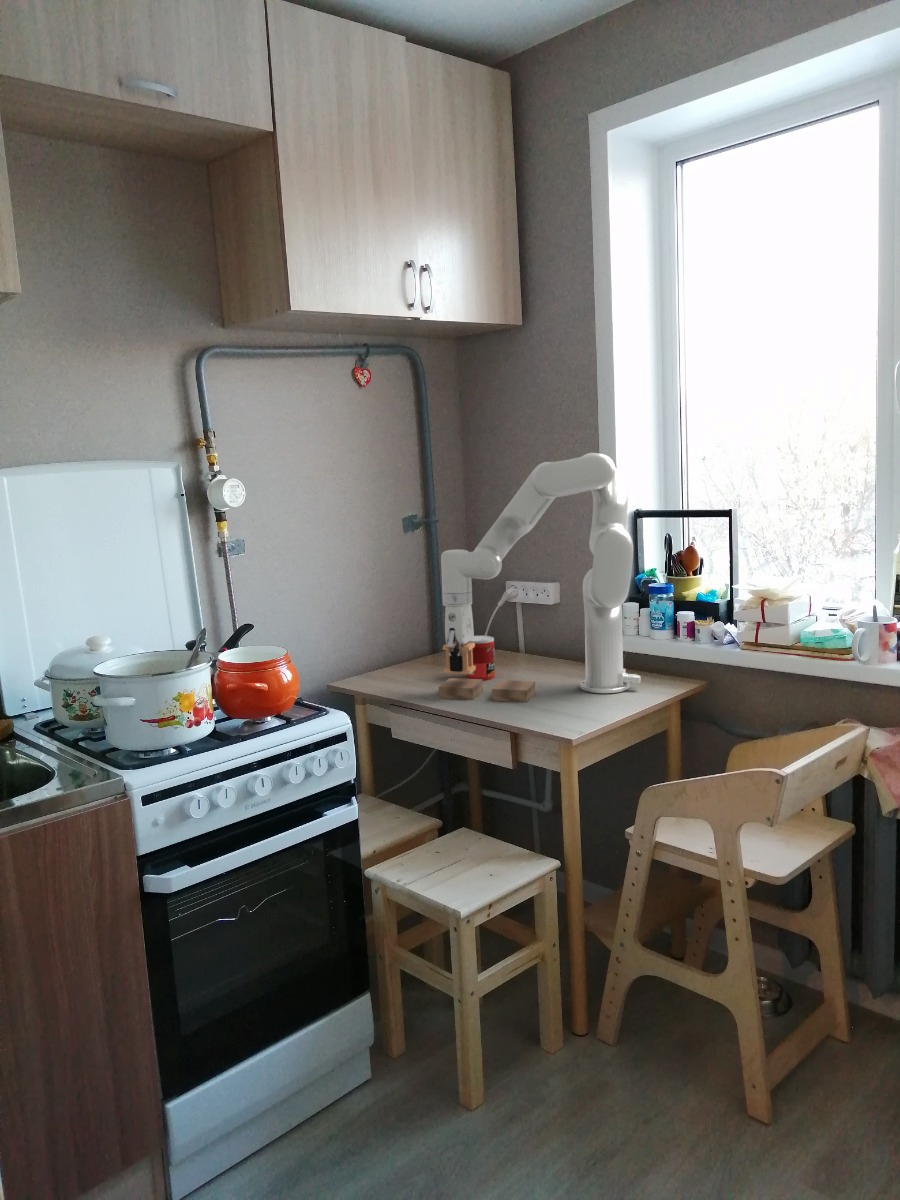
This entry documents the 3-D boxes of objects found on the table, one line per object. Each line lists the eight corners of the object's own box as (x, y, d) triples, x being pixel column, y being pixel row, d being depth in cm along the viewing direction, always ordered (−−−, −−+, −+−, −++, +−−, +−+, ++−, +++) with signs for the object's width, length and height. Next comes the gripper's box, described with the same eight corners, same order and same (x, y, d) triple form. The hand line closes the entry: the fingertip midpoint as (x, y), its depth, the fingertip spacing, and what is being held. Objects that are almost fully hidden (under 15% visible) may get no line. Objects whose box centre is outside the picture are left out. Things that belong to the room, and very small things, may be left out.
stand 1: (483, 690, 247) (482, 679, 247) (473, 699, 239) (472, 688, 238) (450, 689, 250) (449, 678, 250) (439, 698, 242) (438, 686, 241)
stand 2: (535, 692, 243) (535, 681, 242) (527, 702, 235) (526, 690, 234) (501, 691, 246) (501, 680, 245) (492, 700, 237) (491, 688, 237)
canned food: (493, 681, 257) (491, 641, 255) (464, 680, 258) (462, 641, 257) (497, 674, 264) (496, 635, 262) (469, 673, 266) (467, 635, 264)
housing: (475, 669, 245) (474, 642, 244) (469, 674, 240) (469, 646, 239) (449, 668, 247) (448, 642, 246) (443, 672, 242) (442, 646, 241)
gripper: (461, 604, 231) (463, 677, 234) (480, 593, 247) (483, 661, 250) (432, 604, 234) (435, 675, 237) (453, 593, 250) (456, 660, 253)
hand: (459, 667), depth 243 cm, fingers closed on housing, 5 cm apart
